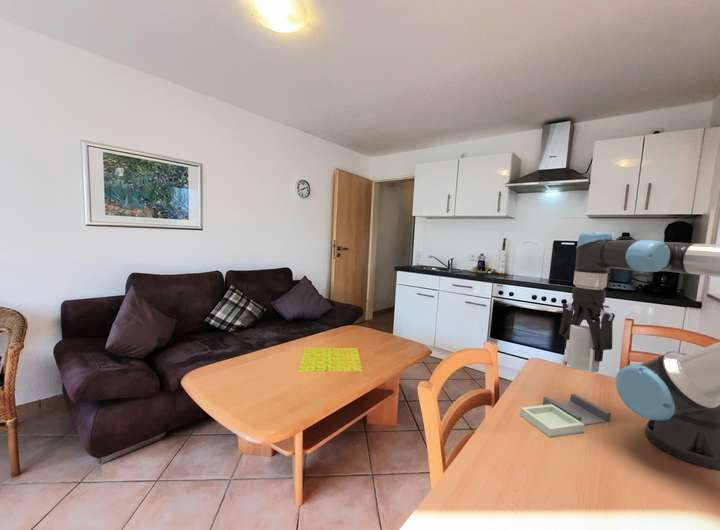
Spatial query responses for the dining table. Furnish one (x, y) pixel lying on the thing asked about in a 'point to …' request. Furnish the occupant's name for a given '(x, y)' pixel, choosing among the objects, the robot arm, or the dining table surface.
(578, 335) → the skincare box
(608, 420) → the tray
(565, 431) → the tray
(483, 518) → the dining table surface
